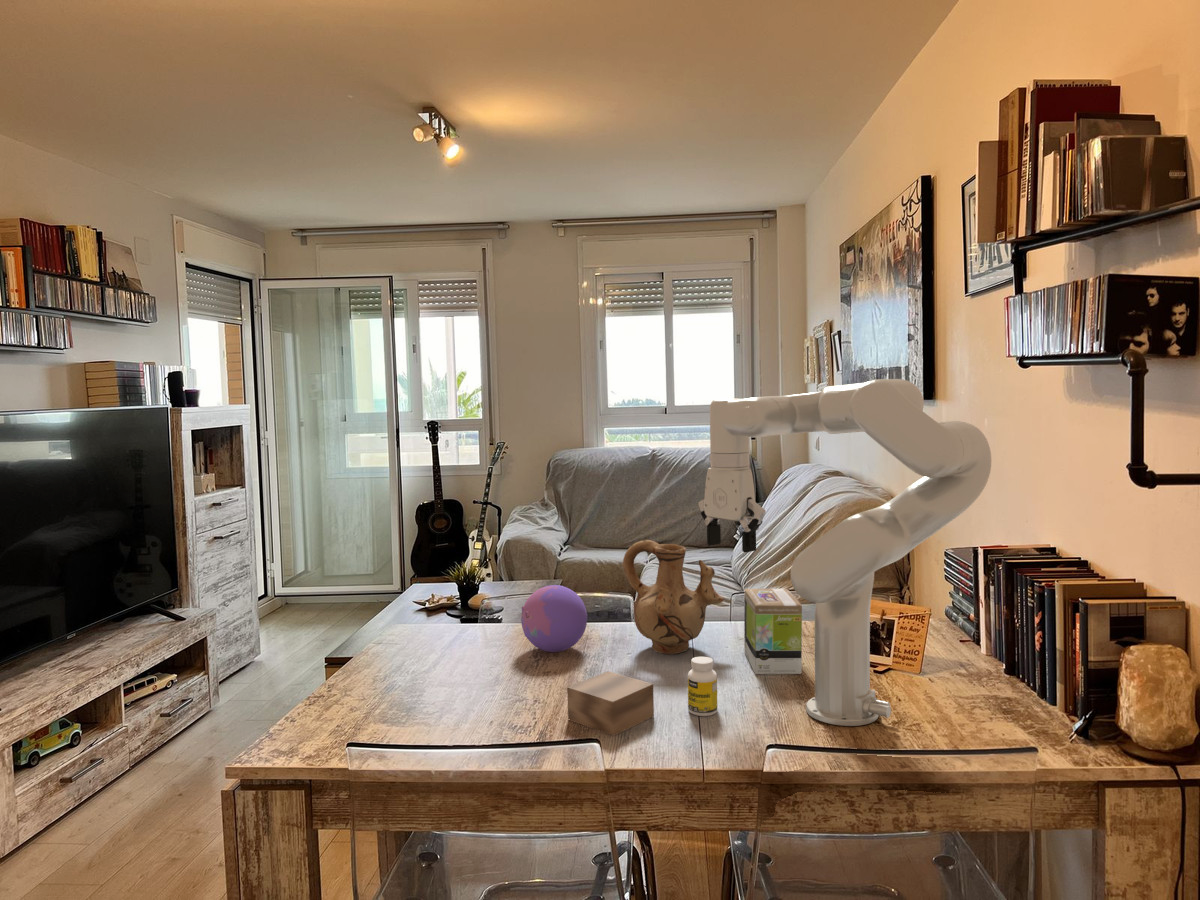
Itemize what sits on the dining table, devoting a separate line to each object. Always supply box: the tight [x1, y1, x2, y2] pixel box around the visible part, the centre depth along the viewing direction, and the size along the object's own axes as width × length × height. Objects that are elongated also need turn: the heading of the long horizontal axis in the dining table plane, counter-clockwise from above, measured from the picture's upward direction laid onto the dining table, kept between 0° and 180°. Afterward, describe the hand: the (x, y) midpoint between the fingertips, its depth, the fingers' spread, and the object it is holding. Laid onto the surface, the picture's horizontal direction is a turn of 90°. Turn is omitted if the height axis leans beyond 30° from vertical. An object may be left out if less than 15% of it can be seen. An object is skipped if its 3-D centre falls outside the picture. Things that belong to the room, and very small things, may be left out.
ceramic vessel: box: [622, 539, 725, 655], centre depth 189 cm, size 18×19×25 cm
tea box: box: [743, 588, 803, 675], centre depth 178 cm, size 15×10×15 cm
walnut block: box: [566, 671, 655, 736], centre depth 151 cm, size 11×11×6 cm
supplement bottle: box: [687, 656, 718, 717], centre depth 153 cm, size 5×5×10 cm
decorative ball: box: [520, 584, 588, 653], centre depth 190 cm, size 15×15×15 cm
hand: (731, 547), depth 164 cm, fingers open, 9 cm apart
